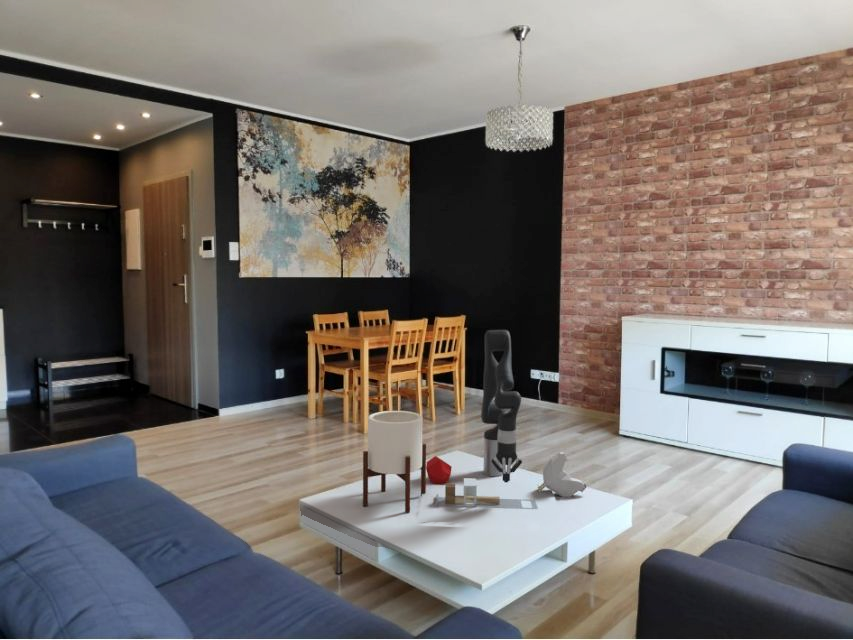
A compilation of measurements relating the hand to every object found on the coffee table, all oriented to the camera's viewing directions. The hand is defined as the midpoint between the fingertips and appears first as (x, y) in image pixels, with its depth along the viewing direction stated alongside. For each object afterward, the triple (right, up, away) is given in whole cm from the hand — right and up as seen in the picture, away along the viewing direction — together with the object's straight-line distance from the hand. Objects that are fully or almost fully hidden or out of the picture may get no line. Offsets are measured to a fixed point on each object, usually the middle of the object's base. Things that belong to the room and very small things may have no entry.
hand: (506, 481), depth 243 cm
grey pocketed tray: (-9, -10, +1) cm, 14 cm away
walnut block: (-23, -9, +1) cm, 24 cm away
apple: (-27, -8, +31) cm, 42 cm away
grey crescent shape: (+26, -10, +15) cm, 32 cm away
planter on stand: (-45, -10, +6) cm, 47 cm away
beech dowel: (-12, -9, +1) cm, 15 cm away
